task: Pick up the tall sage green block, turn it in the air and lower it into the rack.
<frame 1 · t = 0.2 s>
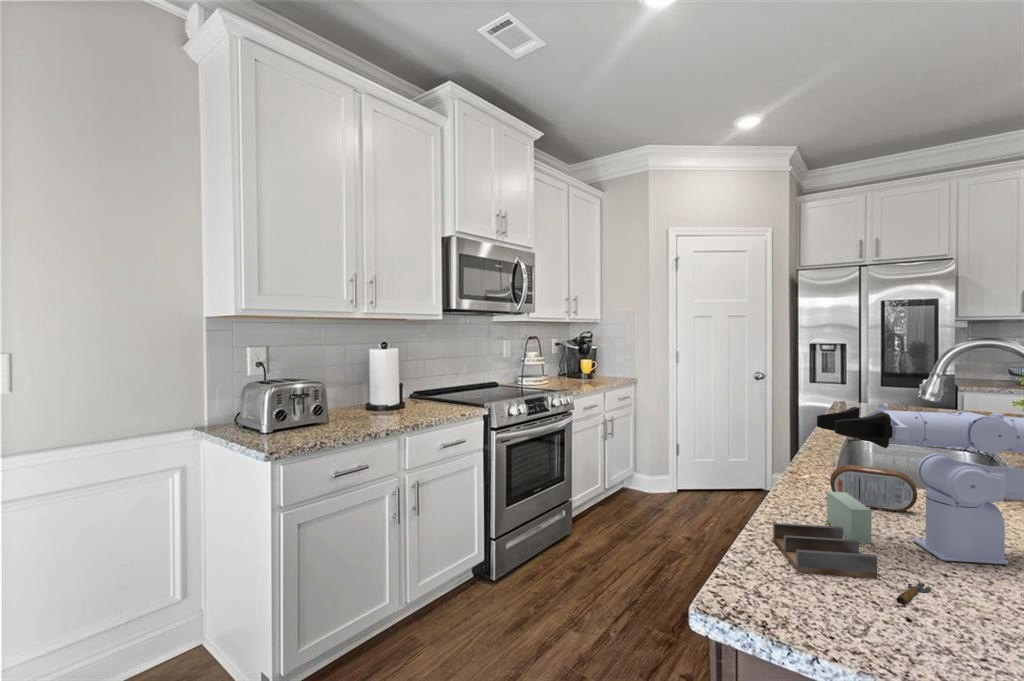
hand: (826, 424, 88), 21 cm above the worktop, tool horizontal, fingers open, 7 cm apart
can opener: (914, 598, 71), on the worktop
tall sage green block: (848, 532, 94), on the worktop
tin: (872, 508, 107), on the worktop
rack: (820, 557, 83), on the worktop
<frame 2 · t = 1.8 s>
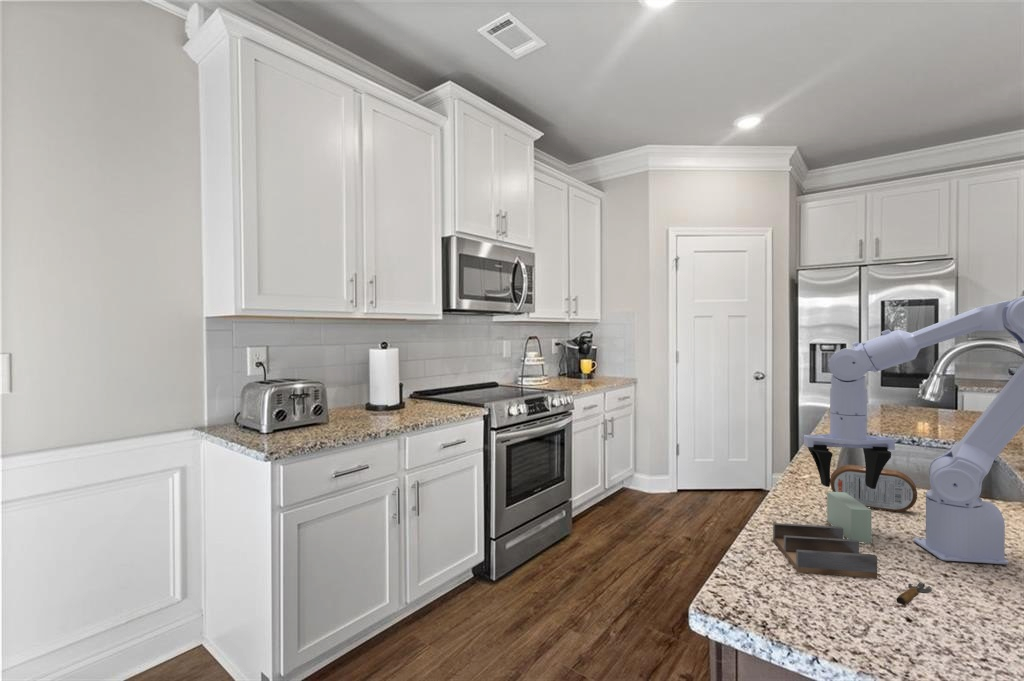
hand: (847, 486, 94), 8 cm above the worktop, tool pointing down, fingers open, 7 cm apart
nothing on the worktop moved.
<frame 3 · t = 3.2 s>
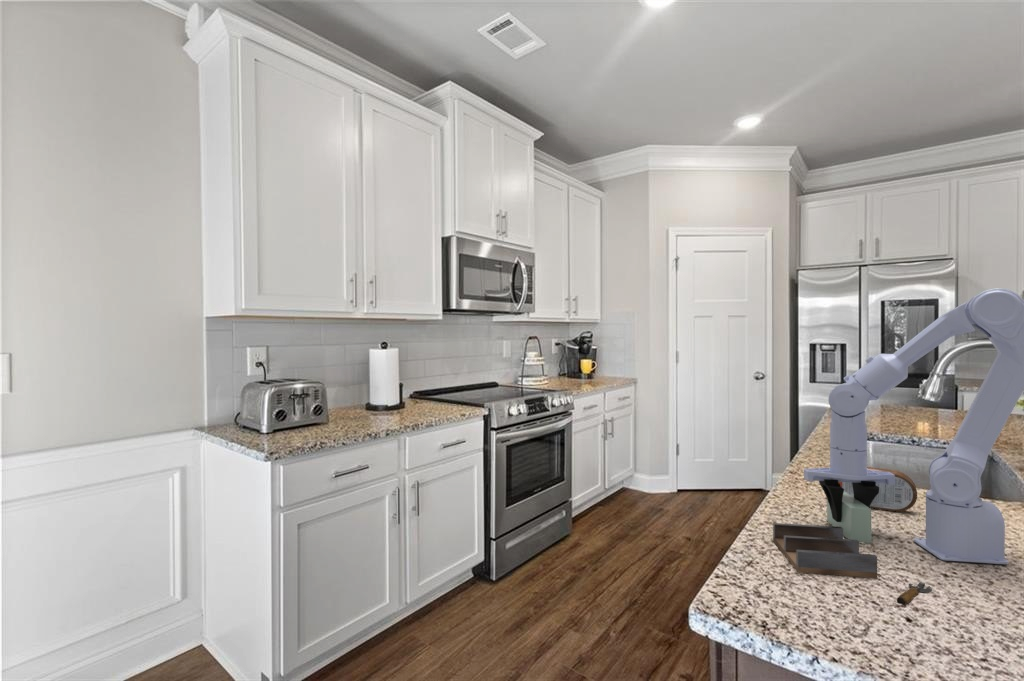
hand: (848, 520, 94), 2 cm above the worktop, tool pointing down, fingers closed on tall sage green block, 3 cm apart
tall sage green block: (847, 531, 94), on the worktop, touching gripper
everything else where it was.
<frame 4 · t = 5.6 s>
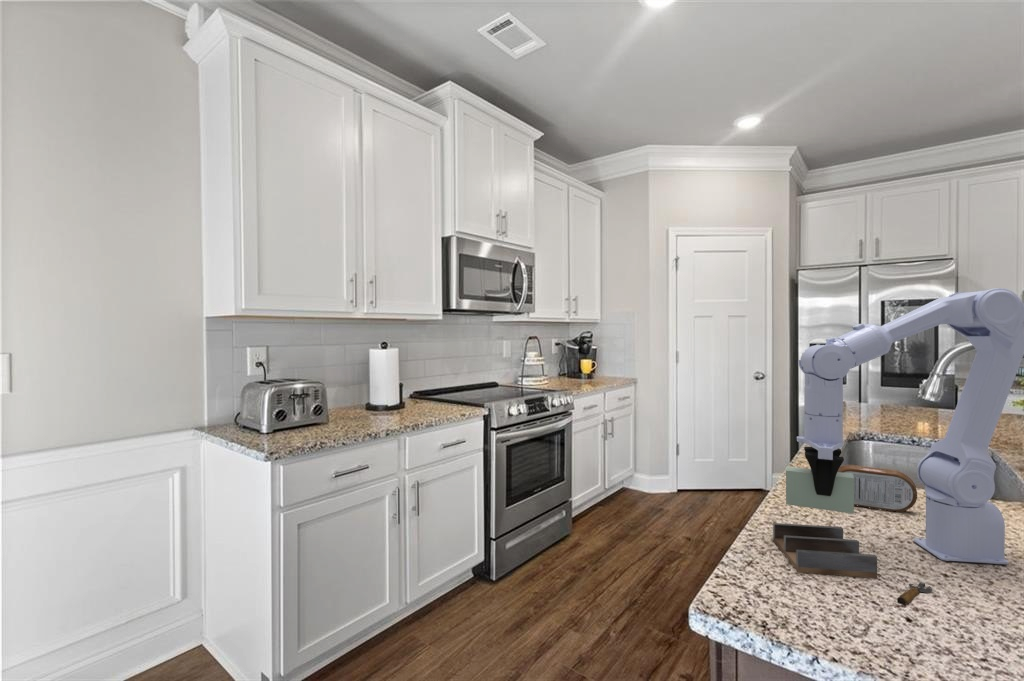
hand: (822, 491, 88), 9 cm above the worktop, tool pointing down, fingers closed on tall sage green block, 3 cm apart
tall sage green block: (818, 506, 88), point 7 cm above the worktop, touching gripper
everything else where it was.
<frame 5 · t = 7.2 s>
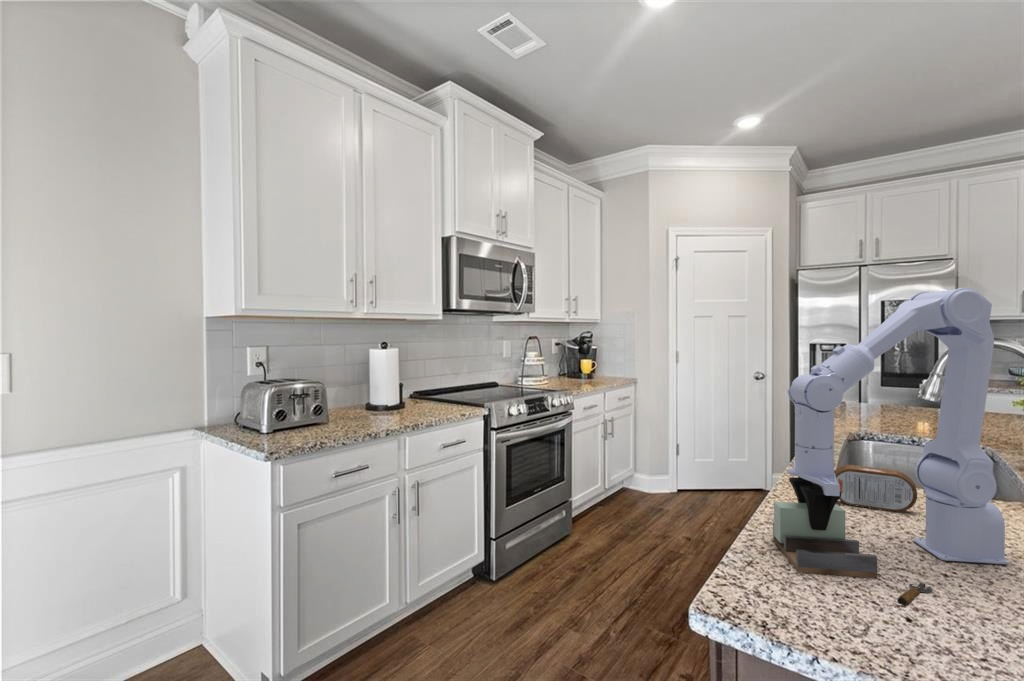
hand: (813, 525, 86), 4 cm above the worktop, tool pointing down, fingers closed on tall sage green block, 3 cm apart
tall sage green block: (808, 541, 86), point 2 cm above the worktop, touching gripper
everything else where it was.
when the fingers open (4 cm above the worktop, at t = 8.4 s): tall sage green block stays where it is, resting on rack.
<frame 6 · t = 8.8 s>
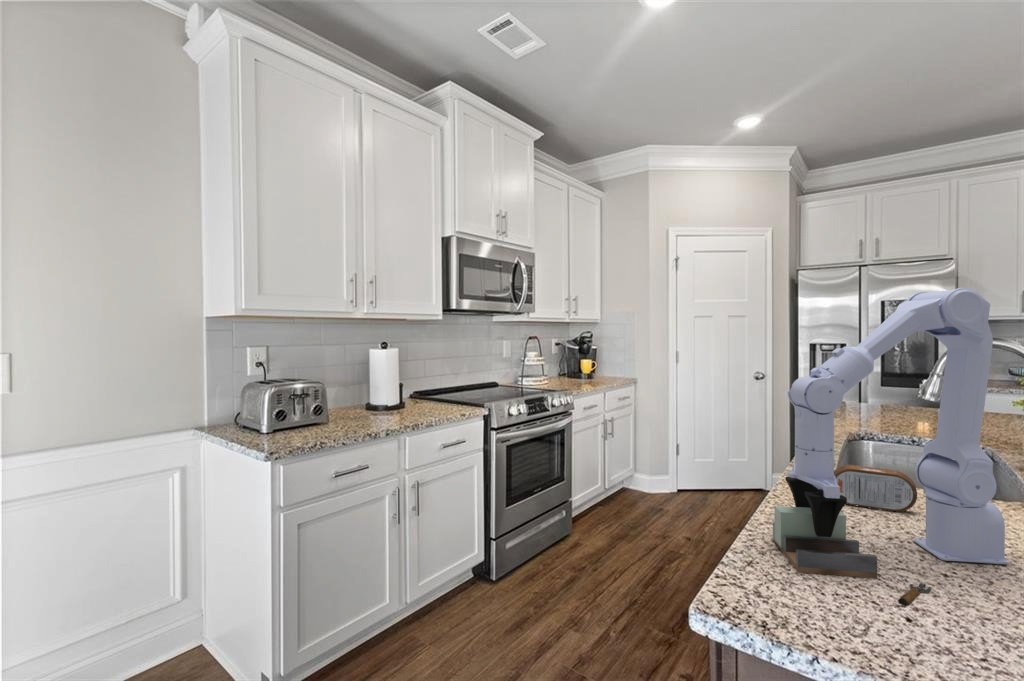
hand: (814, 527, 86), 4 cm above the worktop, tool pointing down, fingers open, 7 cm apart
tall sage green block: (809, 545, 86), point 1 cm above the worktop, touching rack
everything else where it was.
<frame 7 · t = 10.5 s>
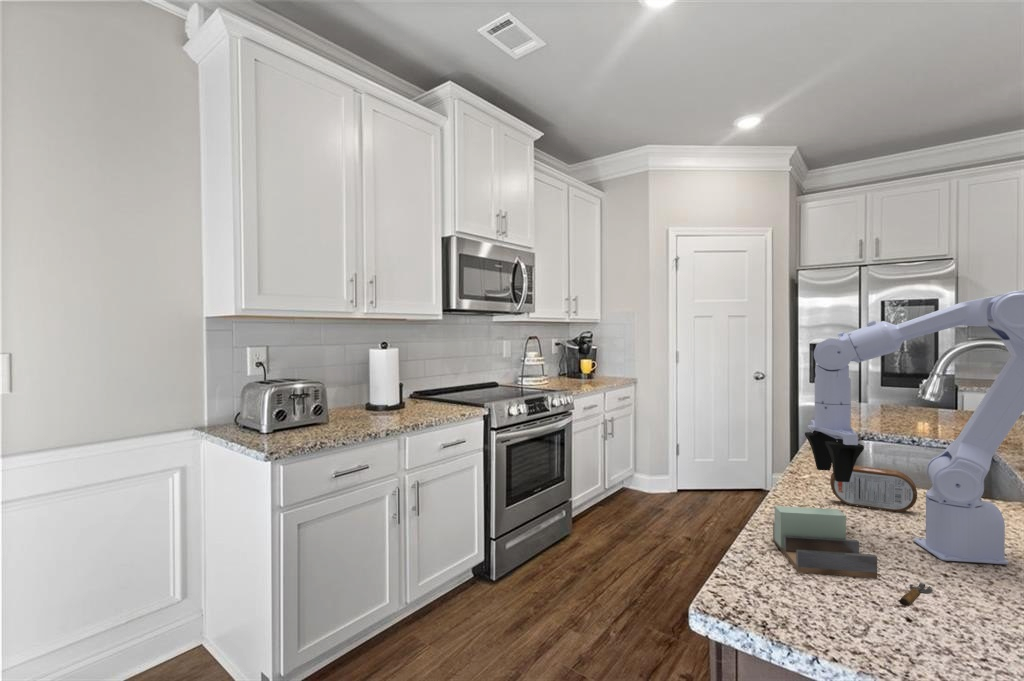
hand: (832, 475, 94), 10 cm above the worktop, tool pointing down, fingers open, 7 cm apart
nothing on the worktop moved.
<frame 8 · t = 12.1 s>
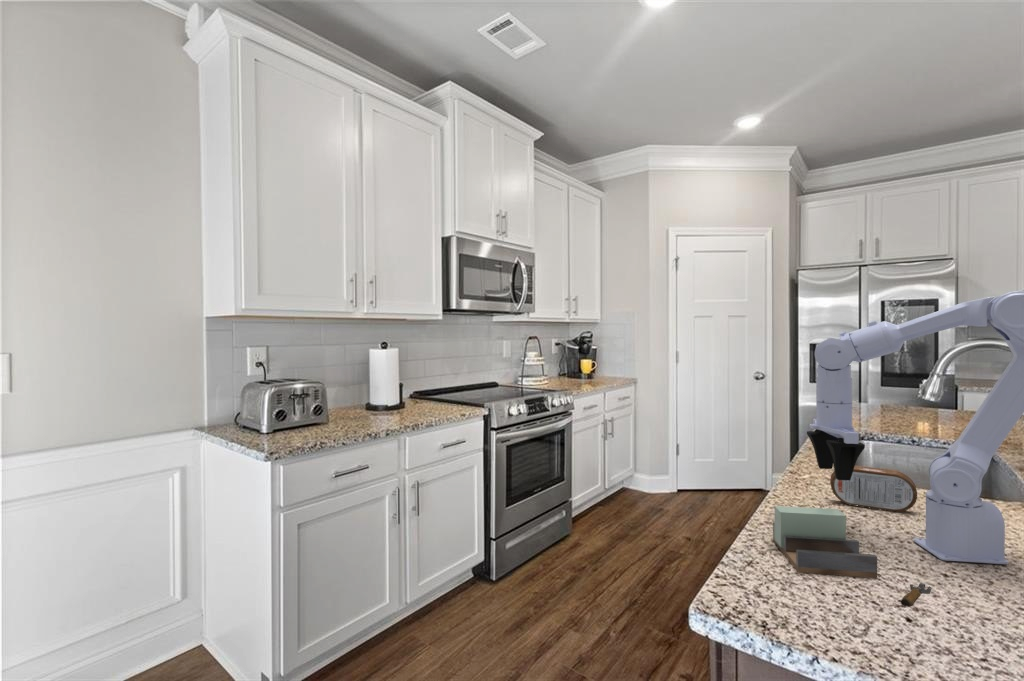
hand: (833, 473, 95), 10 cm above the worktop, tool pointing down, fingers open, 7 cm apart
nothing on the worktop moved.
at the end: tall sage green block 0.8 cm from the target spot on the rack, point 0.8 cm above the rack's base; tall sage green block tilted 0°; the gripper is holding nothing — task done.
